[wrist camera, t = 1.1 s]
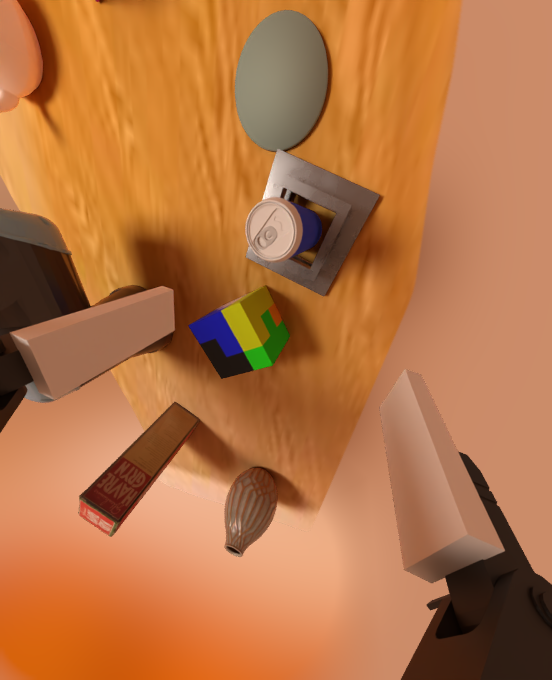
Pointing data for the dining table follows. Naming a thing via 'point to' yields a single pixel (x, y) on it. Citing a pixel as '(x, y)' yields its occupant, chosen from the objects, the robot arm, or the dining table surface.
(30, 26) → the teapot
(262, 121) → the coaster
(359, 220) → the square metal frame
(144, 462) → the food packaging
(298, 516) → the dining table surface
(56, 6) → the dining table surface
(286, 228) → the beverage can
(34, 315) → the robot arm
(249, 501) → the vase
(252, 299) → the puzzle toy
